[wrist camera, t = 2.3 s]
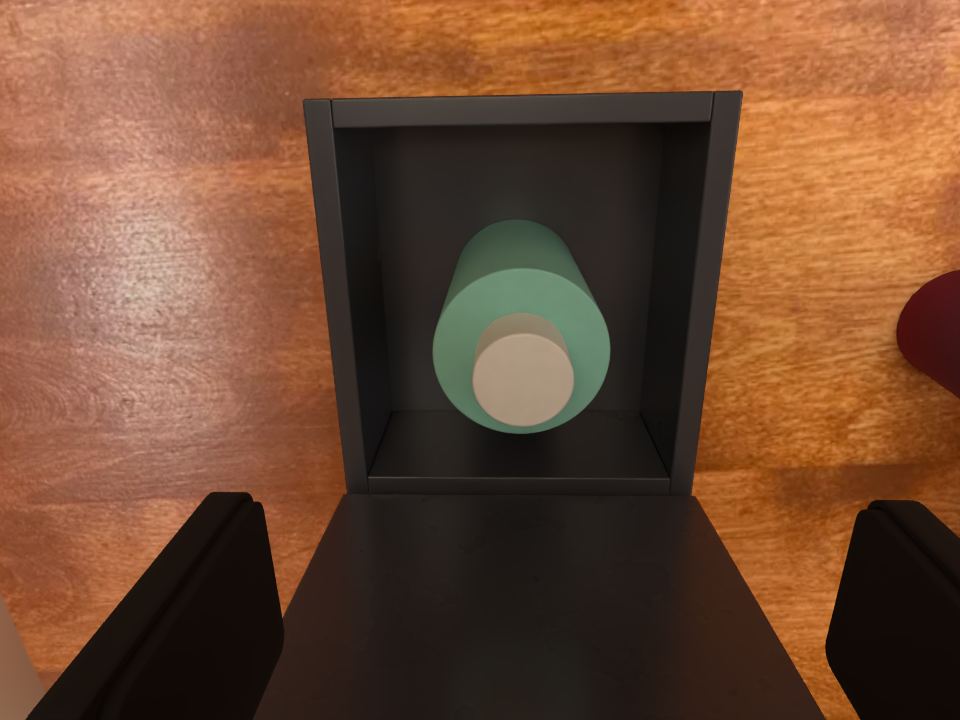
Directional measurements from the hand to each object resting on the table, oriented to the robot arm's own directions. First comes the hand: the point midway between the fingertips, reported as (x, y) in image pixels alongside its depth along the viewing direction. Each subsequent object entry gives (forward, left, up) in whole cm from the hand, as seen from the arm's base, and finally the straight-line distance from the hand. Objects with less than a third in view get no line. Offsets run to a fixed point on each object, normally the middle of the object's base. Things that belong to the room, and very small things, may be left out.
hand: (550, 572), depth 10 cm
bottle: (0, 0, -19) cm, 19 cm away
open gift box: (0, 0, -20) cm, 20 cm away
